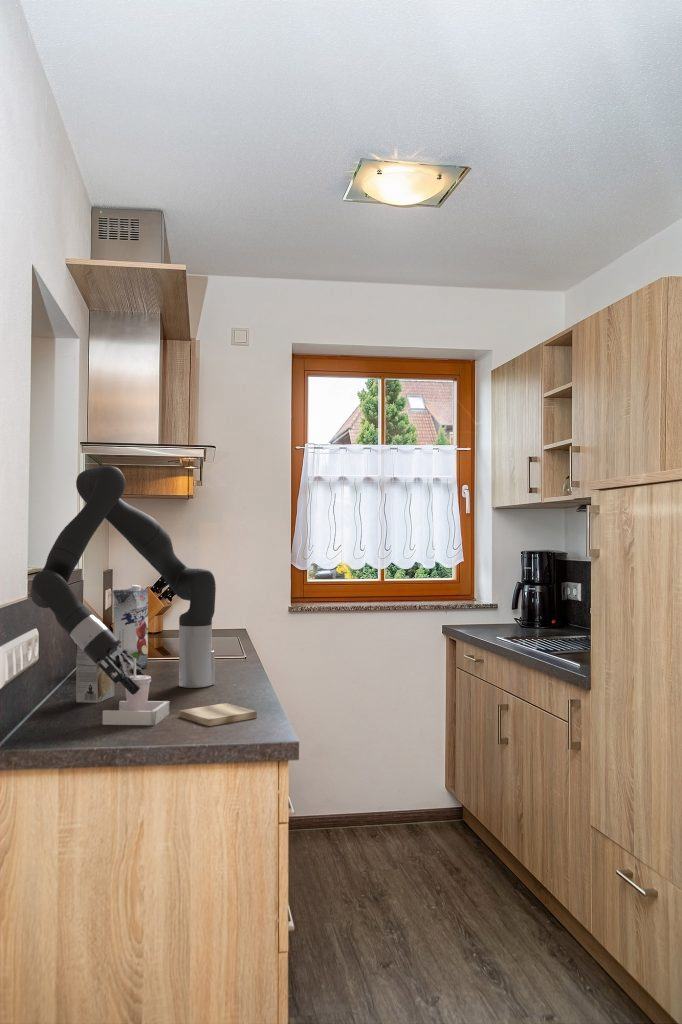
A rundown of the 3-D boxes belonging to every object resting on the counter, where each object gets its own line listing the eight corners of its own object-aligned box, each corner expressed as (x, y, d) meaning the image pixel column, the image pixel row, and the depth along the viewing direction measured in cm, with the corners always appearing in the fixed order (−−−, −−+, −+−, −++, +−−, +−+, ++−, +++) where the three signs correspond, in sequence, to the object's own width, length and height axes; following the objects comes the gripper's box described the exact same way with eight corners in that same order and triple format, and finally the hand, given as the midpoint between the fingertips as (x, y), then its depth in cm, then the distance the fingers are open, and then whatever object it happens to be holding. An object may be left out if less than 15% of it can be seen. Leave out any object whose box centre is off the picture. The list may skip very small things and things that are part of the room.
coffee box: (93, 695, 220) (93, 635, 221) (115, 696, 219) (115, 635, 219) (75, 702, 211) (75, 639, 212) (98, 703, 210) (98, 640, 210)
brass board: (226, 709, 202) (226, 703, 202) (256, 717, 192) (256, 711, 192) (179, 716, 193) (179, 710, 193) (208, 726, 183) (208, 719, 184)
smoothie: (125, 716, 194) (125, 656, 194) (153, 715, 195) (153, 656, 195) (120, 722, 188) (120, 660, 188) (149, 721, 188) (149, 660, 189)
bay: (102, 724, 186) (102, 711, 186) (120, 713, 197) (120, 700, 198) (154, 725, 185) (154, 711, 185) (169, 713, 197) (169, 701, 197)
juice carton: (108, 670, 261) (109, 585, 262) (128, 666, 271) (128, 583, 272) (132, 672, 258) (133, 586, 259) (151, 667, 268) (151, 584, 269)
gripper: (94, 630, 185) (144, 682, 184) (116, 624, 199) (162, 672, 198) (71, 654, 185) (121, 706, 184) (94, 646, 200) (141, 694, 198)
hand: (142, 688), depth 191 cm, fingers open, 8 cm apart
